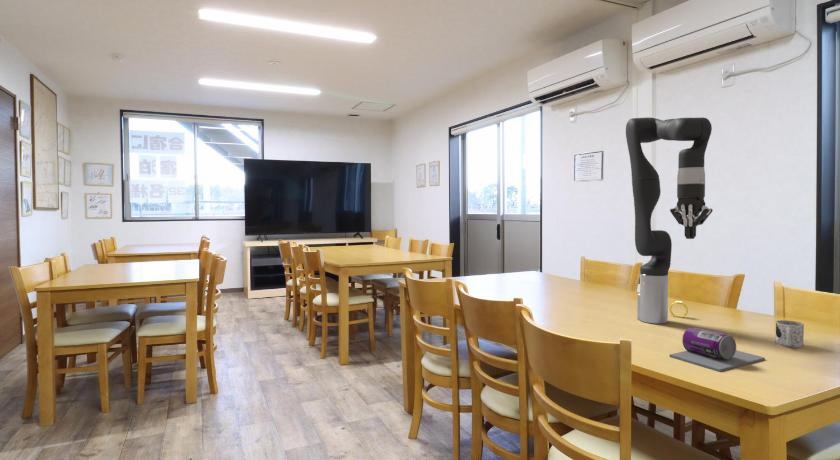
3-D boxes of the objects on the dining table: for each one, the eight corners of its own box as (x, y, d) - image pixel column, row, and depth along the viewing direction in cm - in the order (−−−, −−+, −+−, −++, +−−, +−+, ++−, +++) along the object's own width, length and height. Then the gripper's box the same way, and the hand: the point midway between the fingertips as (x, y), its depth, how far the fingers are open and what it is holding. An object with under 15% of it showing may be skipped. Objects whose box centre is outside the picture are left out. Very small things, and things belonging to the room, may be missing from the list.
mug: (776, 340, 150) (776, 319, 150) (803, 343, 146) (804, 322, 145) (774, 347, 142) (774, 325, 142) (802, 352, 138) (803, 329, 138)
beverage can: (679, 351, 139) (718, 361, 127) (680, 326, 139) (719, 334, 128) (697, 350, 141) (737, 360, 130) (698, 326, 141) (738, 334, 130)
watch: (687, 317, 182) (689, 302, 181) (686, 319, 180) (687, 303, 179) (670, 314, 185) (671, 299, 185) (668, 316, 183) (670, 300, 183)
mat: (669, 356, 135) (669, 354, 135) (714, 346, 144) (714, 344, 144) (719, 371, 123) (719, 369, 123) (764, 359, 132) (764, 357, 132)
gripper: (663, 183, 153) (663, 238, 154) (704, 181, 141) (703, 240, 142) (679, 184, 156) (678, 237, 157) (719, 181, 145) (718, 239, 145)
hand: (690, 238), depth 150 cm, fingers closed
